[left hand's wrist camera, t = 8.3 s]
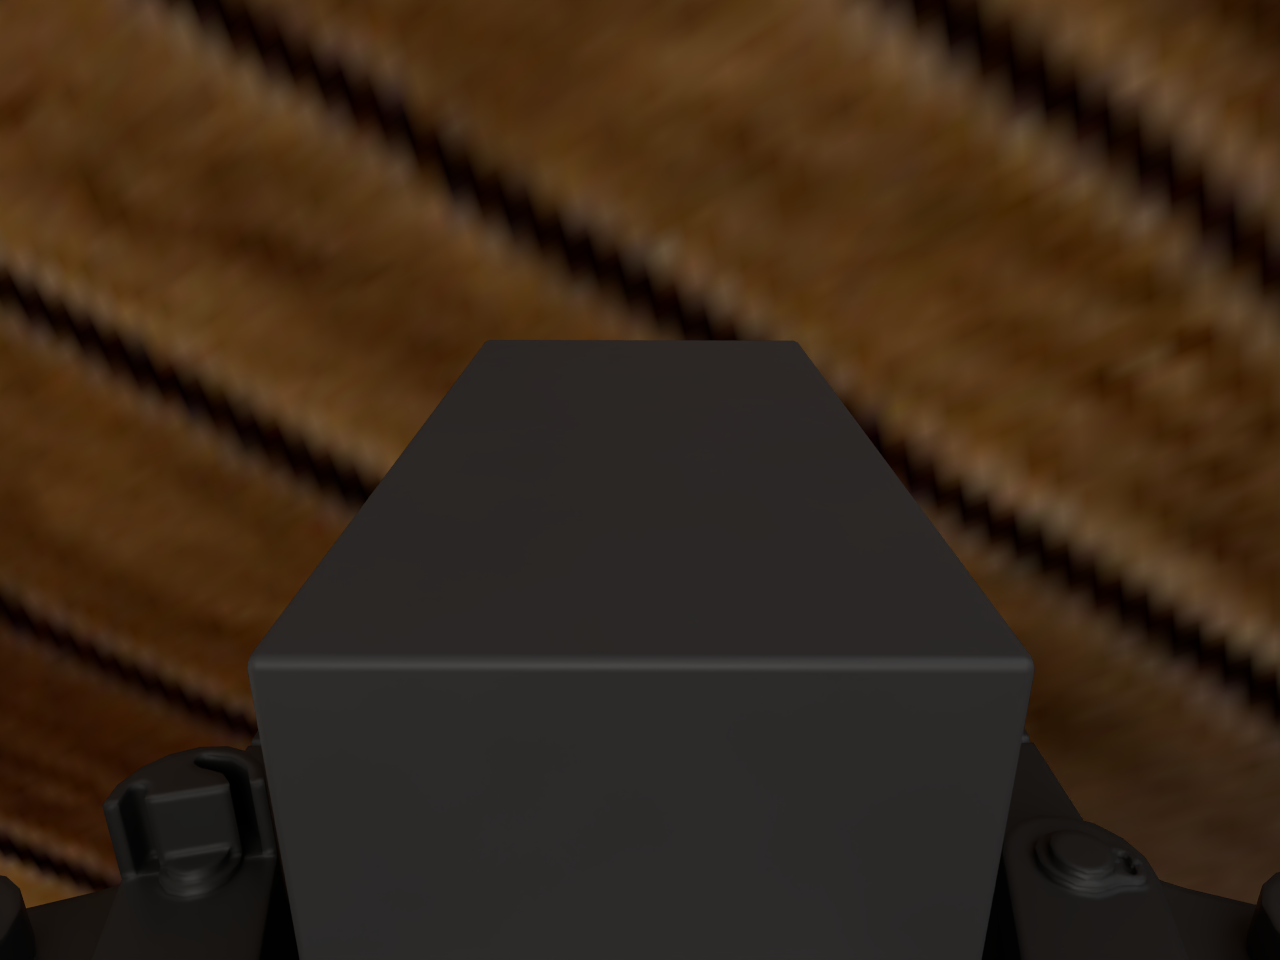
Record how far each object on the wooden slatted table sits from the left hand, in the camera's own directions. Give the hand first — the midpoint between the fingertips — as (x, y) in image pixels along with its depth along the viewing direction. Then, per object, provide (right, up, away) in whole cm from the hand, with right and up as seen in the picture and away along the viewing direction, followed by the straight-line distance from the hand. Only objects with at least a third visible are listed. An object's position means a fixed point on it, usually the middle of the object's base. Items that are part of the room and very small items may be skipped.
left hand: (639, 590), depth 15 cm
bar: (0, -7, +3) cm, 8 cm away
